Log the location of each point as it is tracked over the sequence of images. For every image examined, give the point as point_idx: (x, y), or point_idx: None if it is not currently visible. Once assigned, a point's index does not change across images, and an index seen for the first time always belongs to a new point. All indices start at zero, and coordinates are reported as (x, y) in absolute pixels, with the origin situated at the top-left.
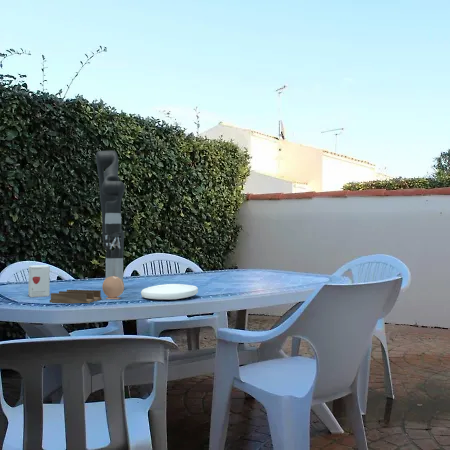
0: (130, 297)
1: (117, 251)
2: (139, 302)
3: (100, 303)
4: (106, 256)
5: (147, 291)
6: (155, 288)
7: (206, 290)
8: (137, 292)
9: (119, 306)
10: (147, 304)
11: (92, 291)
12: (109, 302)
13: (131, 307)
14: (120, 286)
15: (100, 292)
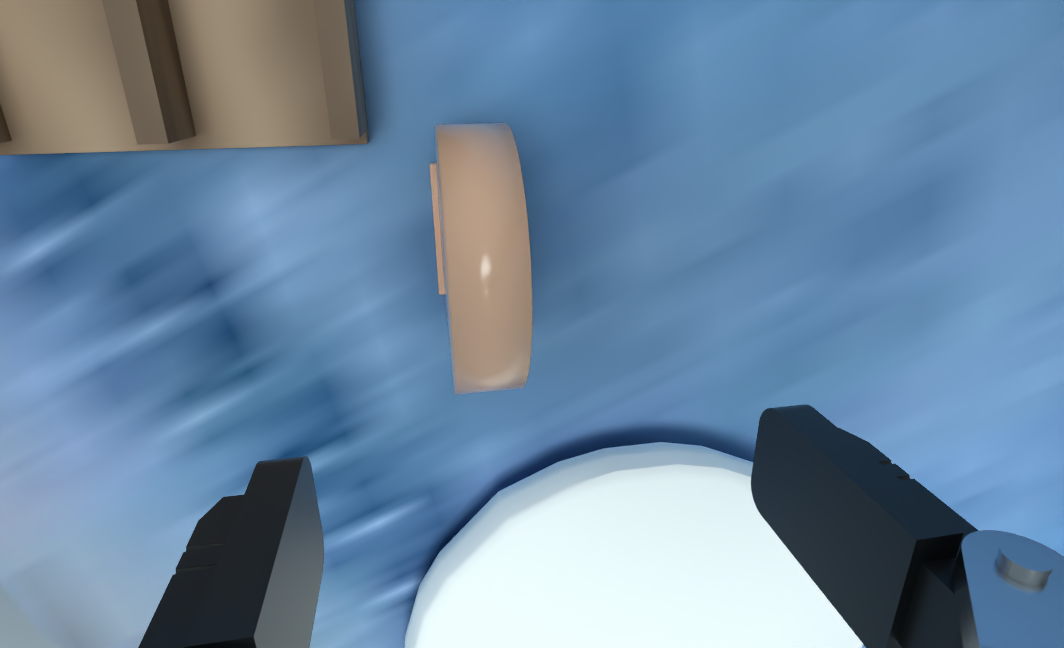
0: (577, 341)
1: (841, 564)
2: None
3: (115, 276)
4: (253, 473)
5: (464, 587)
6: (531, 633)
7: None
8: (916, 238)
9: (41, 517)
10: None
11: (319, 30)
12: (214, 324)
13: (45, 615)
14: (452, 367)
15: (360, 135)
